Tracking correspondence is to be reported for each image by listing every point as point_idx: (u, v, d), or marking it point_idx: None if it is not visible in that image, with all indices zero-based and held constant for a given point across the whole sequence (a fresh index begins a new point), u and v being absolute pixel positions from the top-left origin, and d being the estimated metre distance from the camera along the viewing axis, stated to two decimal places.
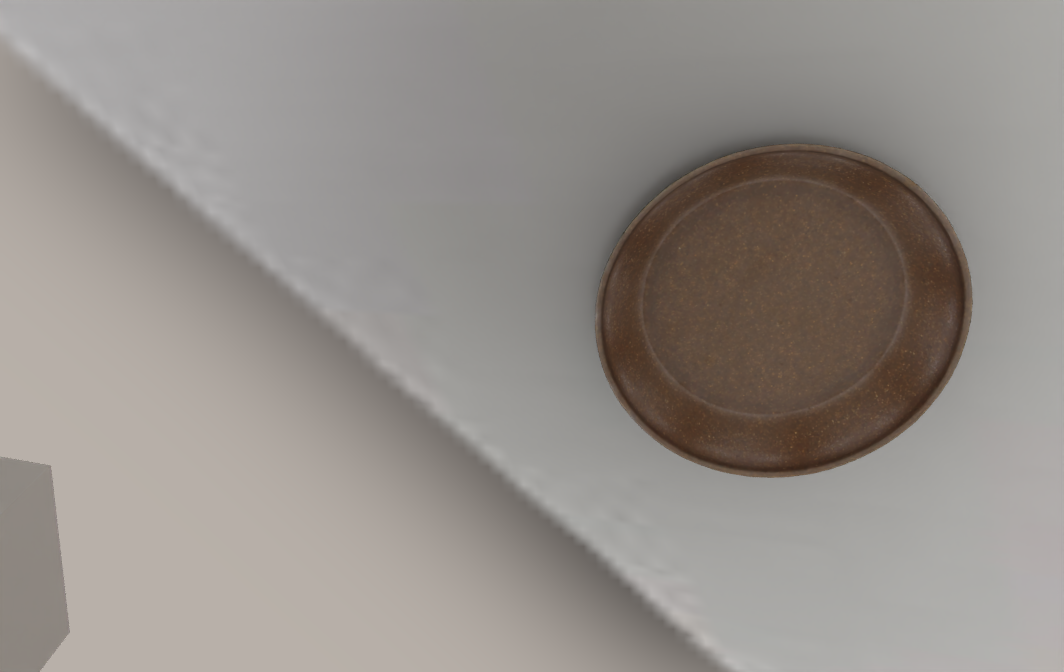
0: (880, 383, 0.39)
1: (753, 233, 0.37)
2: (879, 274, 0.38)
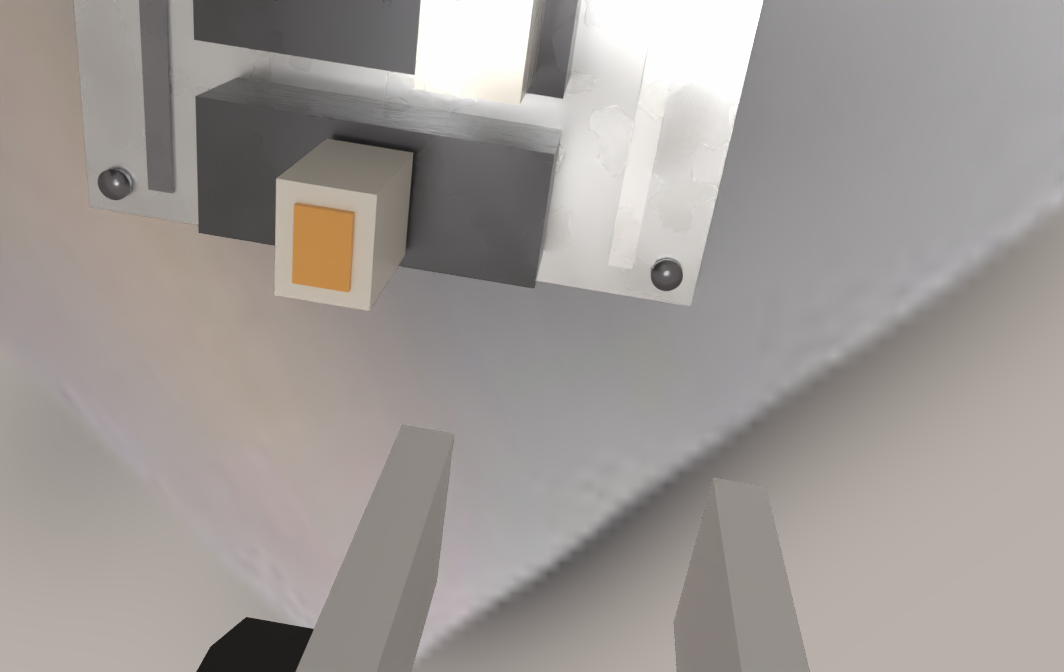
0: None
1: None
2: None
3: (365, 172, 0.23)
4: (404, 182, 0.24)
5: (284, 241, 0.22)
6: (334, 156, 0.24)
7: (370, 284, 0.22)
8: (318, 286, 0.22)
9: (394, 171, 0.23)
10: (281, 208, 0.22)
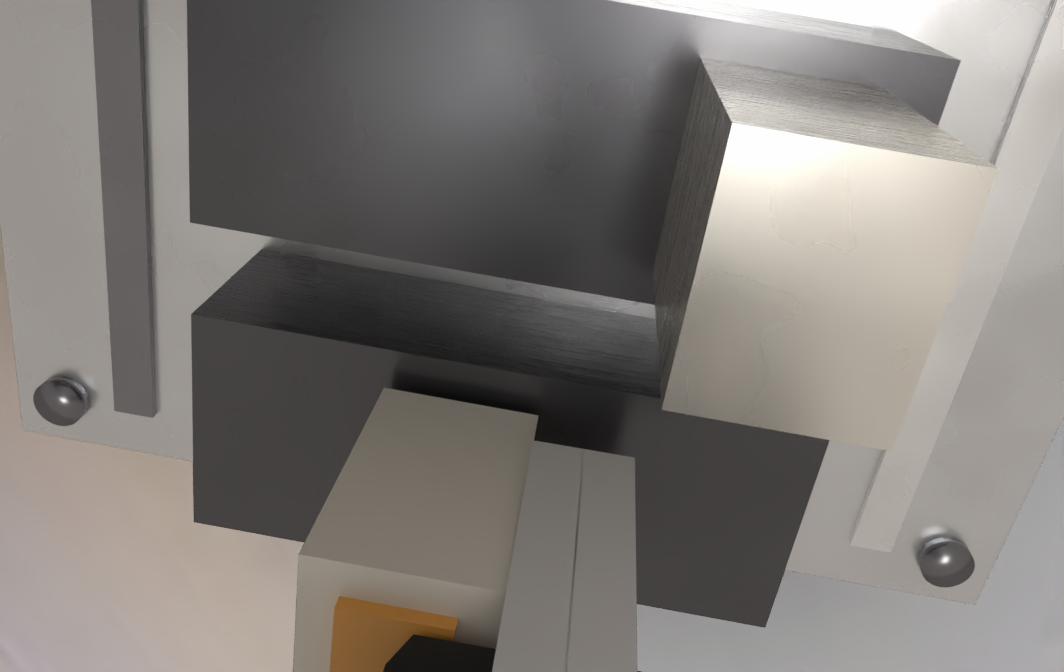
0: None
1: None
2: None
3: (468, 502, 0.12)
4: None
5: (312, 657, 0.11)
6: (405, 446, 0.13)
7: None
8: None
9: (519, 487, 0.12)
10: (307, 604, 0.11)
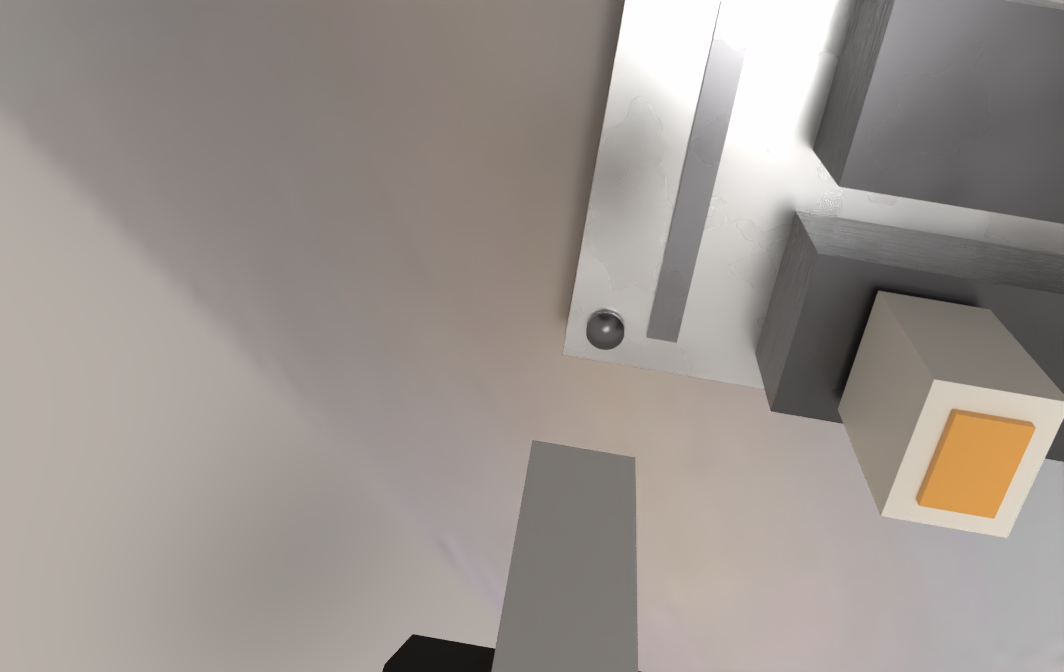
0: None
1: None
2: None
3: (1000, 356, 0.17)
4: None
5: (918, 453, 0.17)
6: (929, 324, 0.18)
7: (1020, 507, 0.17)
8: (952, 509, 0.17)
9: (1021, 349, 0.18)
10: (928, 415, 0.16)
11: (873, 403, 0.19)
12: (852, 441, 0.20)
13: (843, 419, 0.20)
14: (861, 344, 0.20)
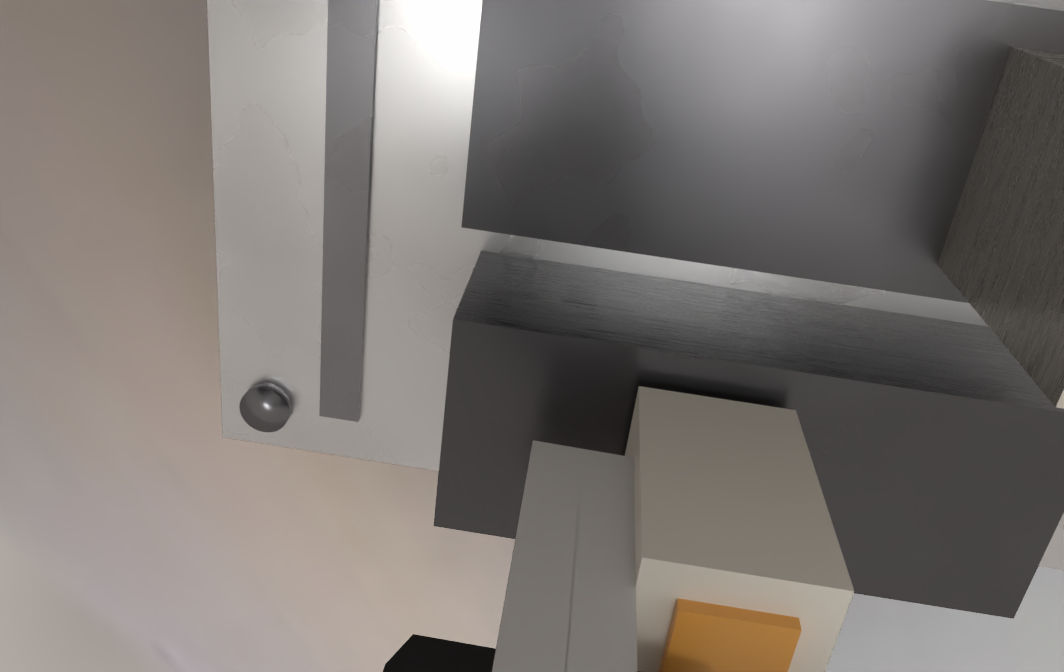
0: None
1: None
2: None
3: (774, 500, 0.12)
4: None
5: (638, 659, 0.11)
6: (687, 445, 0.13)
7: None
8: None
9: (814, 484, 0.12)
10: (643, 607, 0.11)
11: None
12: None
13: None
14: None
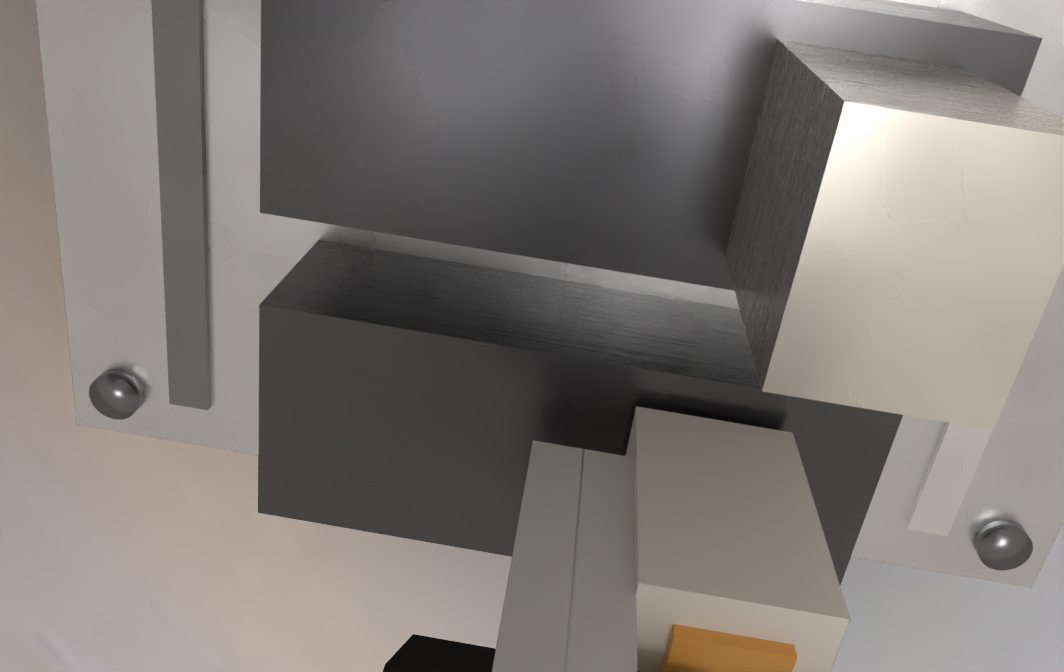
0: None
1: None
2: None
3: (771, 525, 0.12)
4: None
5: None
6: (684, 468, 0.13)
7: None
8: None
9: (811, 508, 0.12)
10: (639, 632, 0.11)
11: None
12: None
13: None
14: None
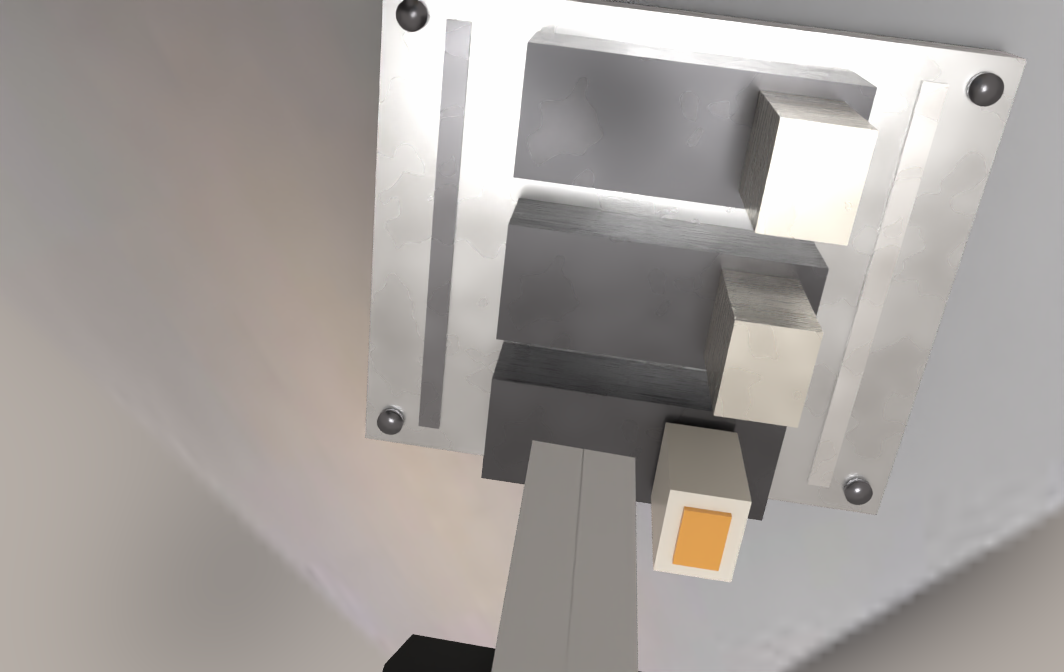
0: None
1: None
2: None
3: (723, 470, 0.28)
4: None
5: (668, 532, 0.28)
6: (688, 448, 0.29)
7: (735, 563, 0.28)
8: (693, 566, 0.28)
9: (741, 464, 0.29)
10: (670, 510, 0.27)
11: (658, 497, 0.30)
12: (652, 519, 0.30)
13: (651, 503, 0.31)
14: (659, 455, 0.31)
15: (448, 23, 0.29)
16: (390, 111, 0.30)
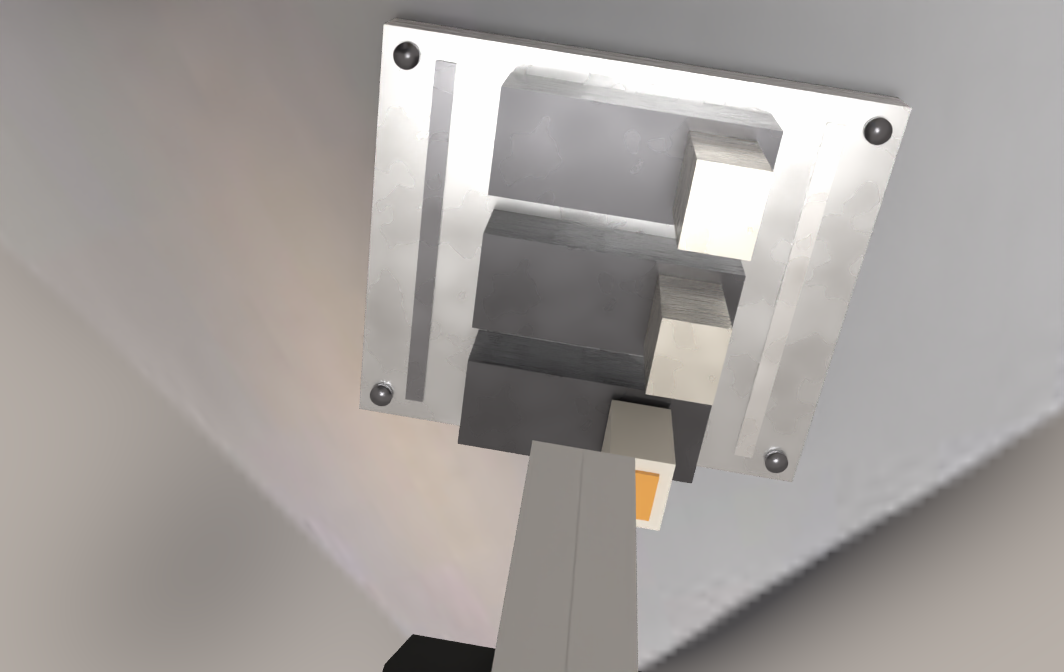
0: None
1: None
2: None
3: (655, 439, 0.34)
4: None
5: None
6: (628, 421, 0.35)
7: (662, 515, 0.34)
8: None
9: (671, 434, 0.35)
10: None
11: None
12: None
13: None
14: (606, 427, 0.37)
15: (436, 63, 0.35)
16: (386, 134, 0.36)
